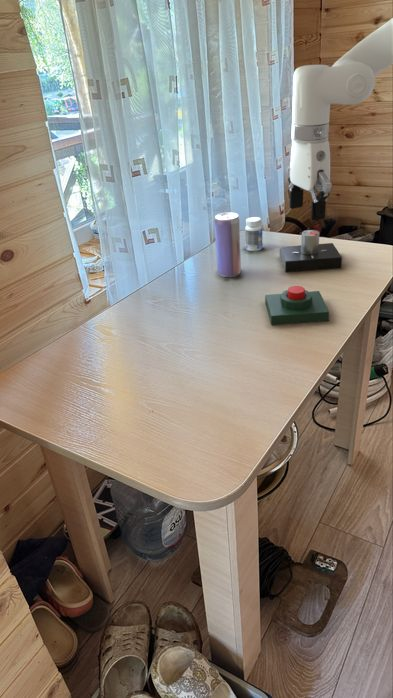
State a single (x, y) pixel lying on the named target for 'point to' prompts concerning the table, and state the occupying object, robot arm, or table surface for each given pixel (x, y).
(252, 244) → the pill bottle
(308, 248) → the knob
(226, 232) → the beverage can
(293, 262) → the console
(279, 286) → the table surface
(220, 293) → the table surface
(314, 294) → the button block
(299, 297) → the button
